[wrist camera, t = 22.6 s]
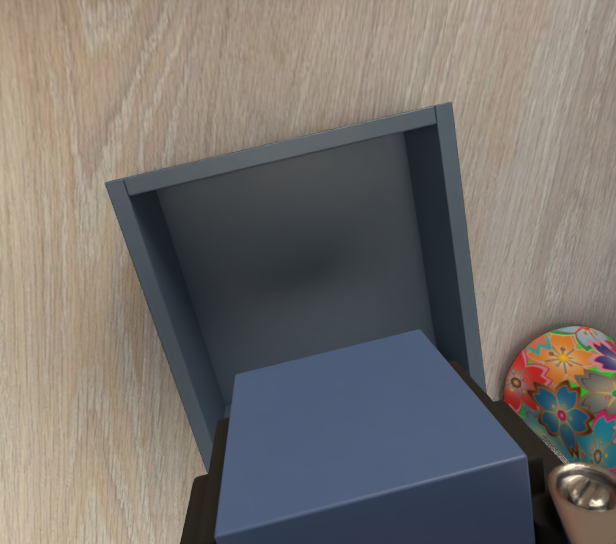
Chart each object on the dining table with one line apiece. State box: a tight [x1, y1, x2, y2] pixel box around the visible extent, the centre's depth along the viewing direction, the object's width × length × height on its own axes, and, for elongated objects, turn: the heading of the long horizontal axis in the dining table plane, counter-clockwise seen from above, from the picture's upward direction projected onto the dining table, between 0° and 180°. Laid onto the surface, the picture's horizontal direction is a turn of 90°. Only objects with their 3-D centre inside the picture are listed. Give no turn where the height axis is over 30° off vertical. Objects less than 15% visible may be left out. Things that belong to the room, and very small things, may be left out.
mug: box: [504, 326, 616, 474], centre depth 26 cm, size 12×9×11 cm
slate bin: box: [105, 102, 487, 473], centre depth 24 cm, size 16×16×6 cm
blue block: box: [214, 330, 535, 544], centre depth 10 cm, size 5×5×5 cm
